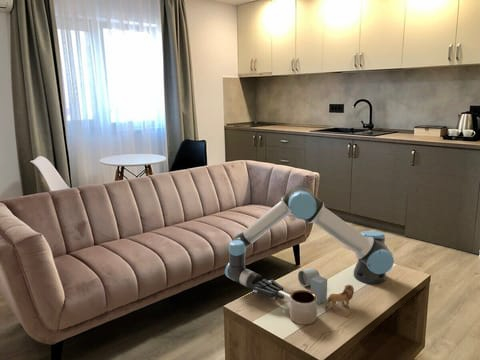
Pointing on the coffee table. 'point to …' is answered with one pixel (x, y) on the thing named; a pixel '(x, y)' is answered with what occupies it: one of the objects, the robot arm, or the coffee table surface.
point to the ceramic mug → (307, 276)
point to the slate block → (319, 288)
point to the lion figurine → (341, 297)
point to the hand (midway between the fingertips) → (291, 299)
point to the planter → (303, 307)
